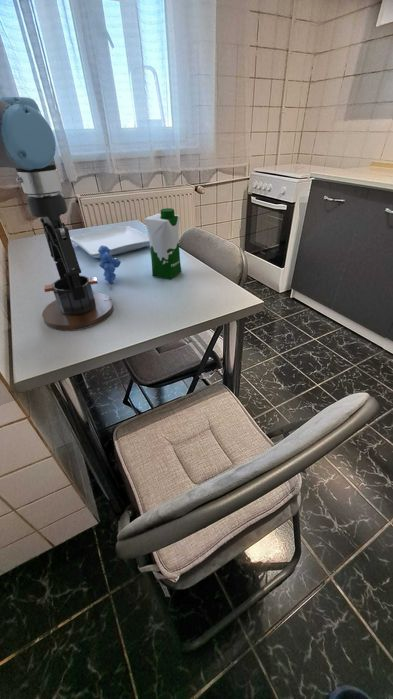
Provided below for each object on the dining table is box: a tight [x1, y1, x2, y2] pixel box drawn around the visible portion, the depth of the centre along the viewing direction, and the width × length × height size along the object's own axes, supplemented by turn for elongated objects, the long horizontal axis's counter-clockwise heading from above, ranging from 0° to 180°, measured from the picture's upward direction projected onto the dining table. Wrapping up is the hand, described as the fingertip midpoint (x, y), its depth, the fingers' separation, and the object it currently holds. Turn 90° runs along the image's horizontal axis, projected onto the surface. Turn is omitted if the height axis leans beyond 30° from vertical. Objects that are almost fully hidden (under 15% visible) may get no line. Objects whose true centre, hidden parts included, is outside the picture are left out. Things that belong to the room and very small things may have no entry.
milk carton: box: [143, 207, 182, 281], centre depth 92 cm, size 9×9×20 cm
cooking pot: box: [43, 275, 99, 315], centre depth 76 cm, size 9×13×7 cm
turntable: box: [41, 291, 115, 331], centre depth 79 cm, size 18×18×2 cm
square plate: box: [70, 225, 150, 259], centre depth 122 cm, size 27×27×4 cm
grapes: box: [98, 245, 122, 283], centre depth 91 cm, size 12×7×12 cm, turn 23°
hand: (73, 292), depth 75 cm, fingers closed on cooking pot, 9 cm apart
